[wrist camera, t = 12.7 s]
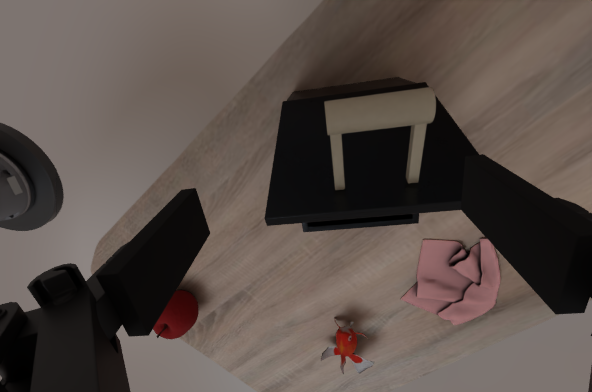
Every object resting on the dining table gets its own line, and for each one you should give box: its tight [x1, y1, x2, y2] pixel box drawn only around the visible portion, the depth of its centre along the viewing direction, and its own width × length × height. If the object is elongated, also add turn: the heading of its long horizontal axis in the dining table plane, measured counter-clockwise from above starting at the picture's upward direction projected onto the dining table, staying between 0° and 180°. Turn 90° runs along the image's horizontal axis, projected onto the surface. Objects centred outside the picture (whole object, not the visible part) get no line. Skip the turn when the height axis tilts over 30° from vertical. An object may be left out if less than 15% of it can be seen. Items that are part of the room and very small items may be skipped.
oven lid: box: [265, 82, 479, 226], centre depth 24 cm, size 18×16×7 cm
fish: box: [321, 317, 374, 374], centre depth 63 cm, size 11×16×10 cm
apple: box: [153, 290, 198, 339], centre depth 61 cm, size 9×9×10 cm
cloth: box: [401, 239, 500, 325], centre depth 57 cm, size 20×22×2 cm
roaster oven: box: [287, 77, 419, 232], centre depth 43 cm, size 18×16×12 cm
